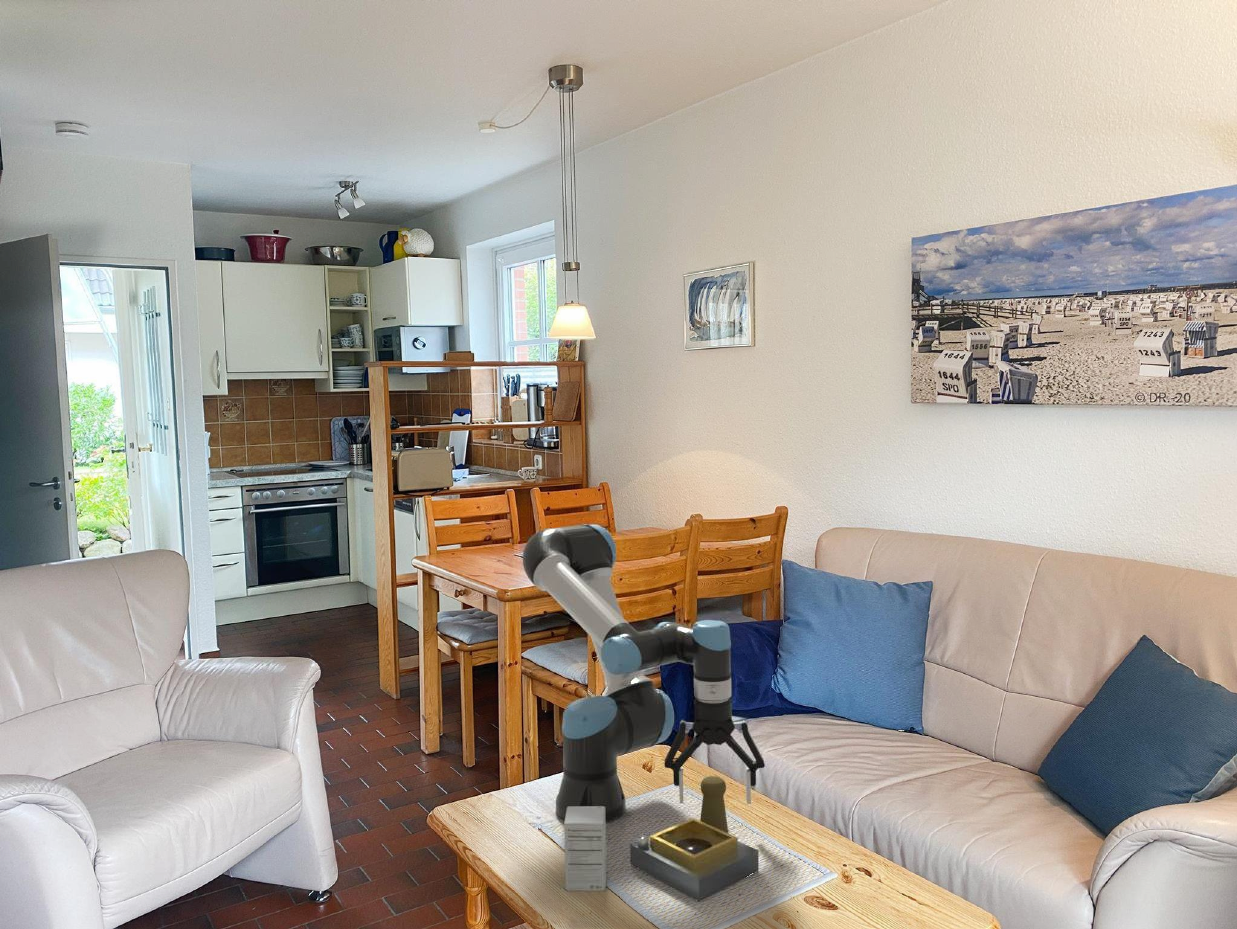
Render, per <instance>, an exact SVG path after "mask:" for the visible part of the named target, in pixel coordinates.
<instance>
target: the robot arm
mask: <svg viewBox="0 0 1237 929" xmlns="http://www.w3.org/2000/svg"><path fill="white" fill-rule="evenodd" d="M616 554H617V546H616V542H615V541H614V539H613V537H612V535H611V533H610V532H609V531H608V530H607V529H606V528H605V527H603V526H600V525H599V524H585V523H584V524H583V523H582V524H579V525H578V524H577V525H570V526H563V527H549V528H544V529H541V530H539V531H537V532H536V533H534V534H533V535H532V536H531V537H530V538H529V539H528V541H527V542H526V544H525V546H524V549H523V553H522V565H523V570H524V572H525V574H526V576H527V577H528V580H529V581H530V582H531V583H532V584H533V585H534V586H535V587H536V588H537V589H538V590H540V591H543V592H545V591H546V592H547V593H548V594H549V595H550V596H551V597H552V598H553V599H554V600H555V602H557V603H558V604H559V605H560V607H562V608H563V609H564V611H565V612H567V613H568V615H570V616H571V618H572V619H573V620H575V622H576V623H577V624H578V625H580V627H581V628H582V629H583V630H584V631H585V632H586V633H587V634H588V635H589V636H590V638H591V641H592V645H593V646H594V650H595V654H596V656H597V658H598V659H597V660H598V662H599V665H600V667H601V670H602V674H603V677H604V680H605V683H606V686H607V690H606V692H605V694H604V695H595V696H586V697H582V698H579V699H576V700H574V701H572V702H571V703H569V704H568V705H567V706H566V707H565V709H564V711H563V714H562V725H561V731H562V732H561V733H562V759H563V760H562V764H563V765H562V767H563V770H562V772H563V774H562V779H561V783H560V785H559V786H560V787H559V790H558V794H557V795H556V798H555V813H556V815H557V816H558V817H560V818H561V819H563V820H564V821H565V816H566V811H567V807H571V806H602V807H605V819H606V823H608V822H612V821H615V820H616V819H619V818H620V817H622V816H623V815H624V814H625V812H626V809H627V808H626V807H627V806H626V804H627V803H626V795H625V793H624V789H623V787H622V784H621V781H620V778H619V775H618V757H619V756H622V755H625V754H629V753H631V752H635V751H636V752H637V751H639V750H642V749H645V748H652V747H654V746H655V745H657V744H660V743H663V742H664V741H666V740H667V739H668V738H669V736H670V735H671V733H672V731H673V727H674V723H675V713H674V712H675V711H674V706H673V703H672V701H671V698H670V697H669V696H668V694H666V693H665V691H663V690H661V689H658V688H655V685H654V682H653V679H651V678H649V677H647V676H645V675H644V673H643V671H644V670H647V669H650V668H655V667H661V666H664V665H669V664H673V663H677V662H679V663H683V664H687V665H692V666H693V688H694V690H693V691H694V692H693V693H694V697H695V699H694V720H693V722H692V721H691V722H689V721H686V720H685V719H681V720H679V728H678V731H677V733H676V736H675V738H674V740H673V742H672V744H671V745H670V748H669V751H668V753H667V754H666V756H665V758H664V762H663V763H664V764H663V765H664V766H663V767H664V768H666V769H671V770H672V772H673V773H672V774H673V777H672V778H673V785H674V786H675V787H679V788H678V790H679V804H684V768H683V766H684V764H685V763H686V762H687V761H688V760H689V758H690V757H691V756H692V755H693V753H695V751H697V749H698V748H699V747H700V746H701V745H702V744H703V743H704V744H706V746H710V745H717V746H722V744H726V745H727V746H728V747H729V748H730V749H731V750H732V751H733V752H734V753H735V754H736V756H737V757H738V758H739V760H740V761H742V763H743V764H745V766H746V767H745V797H746V799H745V800H746V804H749V805H751V804H752V797H751V794H752V792H751V791H752V790H751V787H755V786H756V784H757V770H758V769H764V768H765V767H766V763H765V761H764V758H763V756H762V754H761V752H760V750H759V749H758V747H757V744H756V743H755V741H754V739H753V737H752V735H751V733H750V732H749V726H748V722H747V720H746V719H741V720H740V721H733V713H732V712H733V710H732V699H731V697H732V670H731V665H732V663H731V660H732V658H731V657H732V656H731V653H732V652H731V650H732V649H731V648H732V642H731V632H730V627H729V625H728V623H727V622H725V621H722V620H714V619H705V620H698V621H696V622H694V624H693V626H688V625H684V624H681V623H679V622H678V623H677V622H675V621H674V622H672V621H671V622H669V621H663V622H660V623H658V624H657V625H656V626H655V627H653V628H652V629H648V630H643V631H638V630H636V629H635V628H634V627H633V625H631V624H630V623H629V622H628V621H627V620H626V619H624V615H623V613H622V610H621V608H620V605H619V602H618V600H617V596H616V593H615V591H614V588H613V585H612V582H611V578H612V575H613V574H614V569H613V567H614V565H615V563H616V561H617V556H616ZM690 730H693V732H694V733H695V736H693V739H691V741H690V742H689V743H688V745H687V746H686V748H684V750H683V751H682V752H681V753H680V754H679V755H678V757H677V758H676V755H677V753H678V751H679V749H680V747H681V745H682V743H683V741H684V739H685V736H686V734H688V733H690ZM734 730H737V731H738V733H740V734H742V737H743V739H744V740H745V742H746V744H747V746H748V748H749V751H750V752H751V754H752V756H753V758H754V759H755V760H753V759H752V757H750V755H749V754H748V753H747V752H746V751H745V750H744V749H743V747H742V746H741V745H740V744H739V743H738V742H737V741H736V740H735V739H734V737H733V736H732V733H733V732H734ZM675 758H676V759H675ZM674 759H675V760H674Z"/></svg>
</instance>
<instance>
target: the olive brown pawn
mask: <svg viewBox="0 0 1237 929" xmlns="http://www.w3.org/2000/svg"><path fill="white" fill-rule="evenodd" d="M726 791H727V785H726V781H725V780H724V779H723V777H720V776H716V775H715V776H713V775H709V776H706V777H704V778H703V779H702V780H701V782H700V792H701V793H702V802H701V808H700V810H701V811H700V816H699V817H700V818H699V821H701V822H704V823H706V824H708V825H710V826H712V827H715V828H717V829H719V830H721V831H724V832H726V833H728V834H729V826H728V820H727V812H726V805H725V798H724V795H725V794H726Z"/></svg>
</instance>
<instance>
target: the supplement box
mask: <svg viewBox="0 0 1237 929" xmlns="http://www.w3.org/2000/svg"><path fill="white" fill-rule="evenodd" d="M563 823H564V825H563V826H564V873H565V875H564V877H565V882H564V883H565V890H566V891H577V892H578V891H579V892H580V891H582V892H584V891H585V892H588V891H589V892H590V891H591V892H597V891H598V892H601V891H602V892H603V891H605V890H606V886H607V885H606V883H607V832H606V831H607V829H606V827H607V825H606V824H607V822H606V819H605V807H602V806H571V807H567V811H566V816H565V820H564V822H563Z"/></svg>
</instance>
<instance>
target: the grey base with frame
mask: <svg viewBox="0 0 1237 929" xmlns="http://www.w3.org/2000/svg"><path fill="white" fill-rule="evenodd" d="M629 852H630V854H629V855H630V856H629V857H630V863H629V864H631V865H630V866H632V865H633V866H634V868H635V867H636V869H637V868H639V869H638V870H639V871H641V870H642V871H641V872H643V871H644V872H643V873H645V872H646V873H647V875H648V874H650V875H651V876H650V875H649V876H650V877H652V876H653V877H652V878H654V879H656V880H657V879H658V880H657V881H659V880H660V882H661V881H662V882H661V883H663V882H664V884H665V885H667V886H668V887H670V886H671V887H670V888H672V889H674V888H675V889H674V890H676V891H678V892H680V893H681V894H683V893H684V894H683V895H685V894H686V895H685V896H687V897H688V898H691V897H692V898H693V899H692V898H691V899H692V900H694V899H695V901H696V900H697V901H696V902H698V903H700V902H702V901H704V900H706V899H708V898H710V897H712V896H714V895H715V894H717V893H719V892H721V891H723V890H724V889H728V888H729V887H731V886H733V885H735V884H737V883H738V882H740V881H743V880H745V879H747V878H748V877H747V876H749V875H750V874H752V873H754V874H756V873H757V872H756V871H758V870H759V856H760V855H759V849H756V848H754V847H752V846H749V845H747V844H745V843H743V842H741V841H739V840H738V837H737V836H735V835H732V834H730V833H729V832H728V833H726V832H724V831H721V830H719V829H717V828H715V827H712V826H710V825H708V824H706V823H704V822H701V821H700V819H697V818H694V817H691V818H689V819H687V820H684V821H682V822H679V823H676V824H675V825H671V826H670V827H667V828H665V829H663V830H660V831H658V832H656V833H652V834H651V835H649V836H648V835H644V834H642V835H639V836H638V837H637V841H635V842H633V843H630V845H629ZM633 866H632V867H633ZM759 871H760V870H759ZM759 871H758V872H759ZM755 872H756V873H755ZM646 873H645V874H646ZM752 875H753V874H752ZM750 876H751V875H750ZM750 876H749V877H750ZM746 877H747V878H746ZM744 878H745V879H744ZM742 879H743V880H742ZM713 894H714V895H713ZM709 896H710V897H709ZM707 897H708V898H707ZM701 900H702V901H701Z"/></svg>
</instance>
